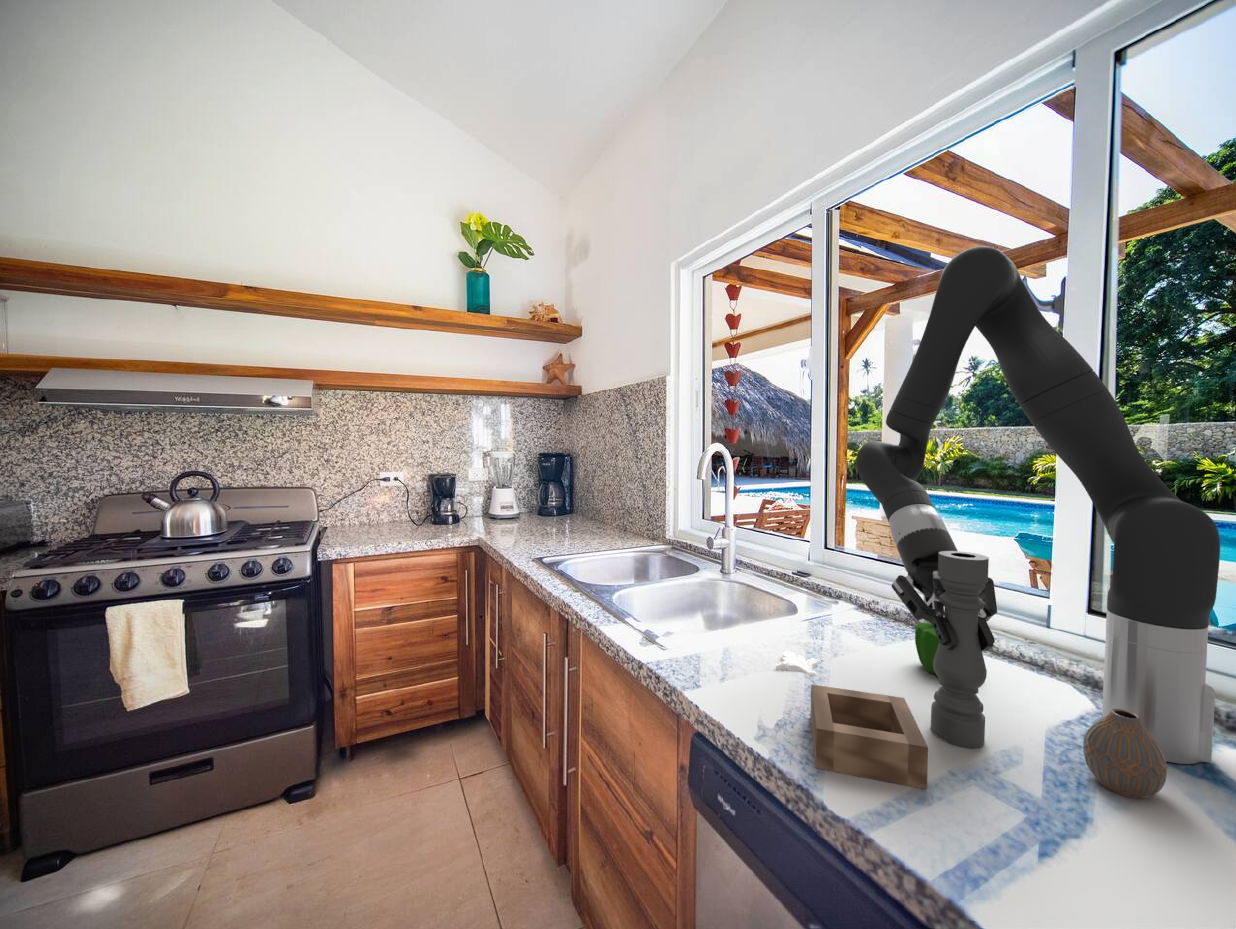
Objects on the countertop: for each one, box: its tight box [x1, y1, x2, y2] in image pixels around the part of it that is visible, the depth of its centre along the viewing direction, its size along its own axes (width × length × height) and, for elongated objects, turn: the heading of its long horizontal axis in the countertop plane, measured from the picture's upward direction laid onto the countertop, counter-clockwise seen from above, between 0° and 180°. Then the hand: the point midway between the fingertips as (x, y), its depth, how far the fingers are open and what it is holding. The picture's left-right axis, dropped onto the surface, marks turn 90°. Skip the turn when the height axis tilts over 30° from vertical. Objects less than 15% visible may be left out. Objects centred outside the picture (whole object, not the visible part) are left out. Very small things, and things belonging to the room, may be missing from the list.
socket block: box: [809, 683, 929, 790], centre depth 65 cm, size 12×12×5 cm
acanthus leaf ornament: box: [775, 650, 822, 677], centre depth 91 cm, size 8×7×2 cm
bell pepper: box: [914, 621, 939, 675], centre depth 89 cm, size 8×8×10 cm
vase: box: [1082, 709, 1168, 799], centre depth 59 cm, size 7×7×9 cm
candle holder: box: [930, 550, 990, 749], centre depth 69 cm, size 6×6×25 cm
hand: (969, 647), depth 67 cm, fingers closed on candle holder, 4 cm apart
